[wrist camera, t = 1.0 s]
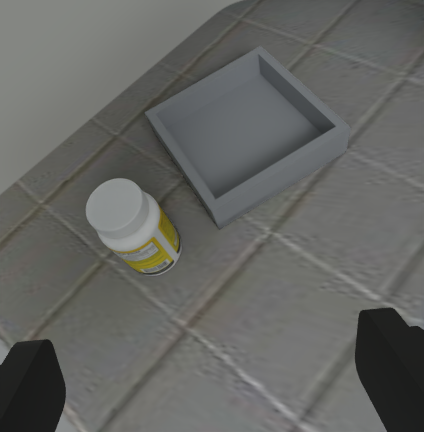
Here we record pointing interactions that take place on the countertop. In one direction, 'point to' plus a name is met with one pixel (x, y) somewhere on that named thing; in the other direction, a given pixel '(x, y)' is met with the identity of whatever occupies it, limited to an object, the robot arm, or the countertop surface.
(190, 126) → the bin
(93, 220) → the supplement bottle
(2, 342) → the countertop surface
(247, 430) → the countertop surface
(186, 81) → the countertop surface
